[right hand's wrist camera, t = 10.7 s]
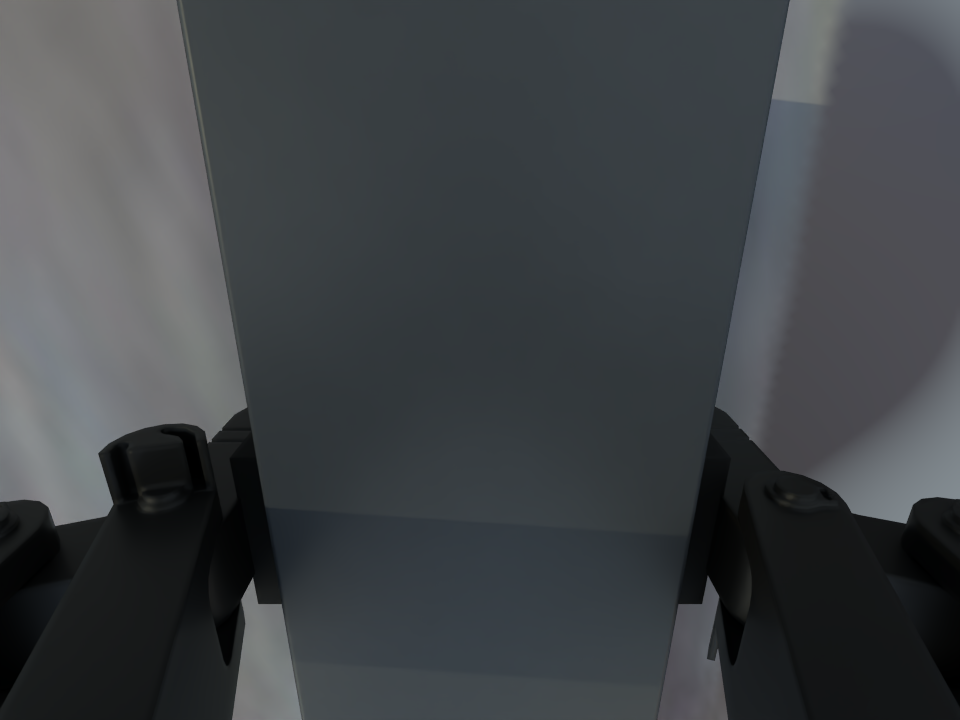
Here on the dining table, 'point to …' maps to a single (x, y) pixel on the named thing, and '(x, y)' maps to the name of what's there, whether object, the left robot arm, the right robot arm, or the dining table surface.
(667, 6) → the beam
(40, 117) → the dining table surface
